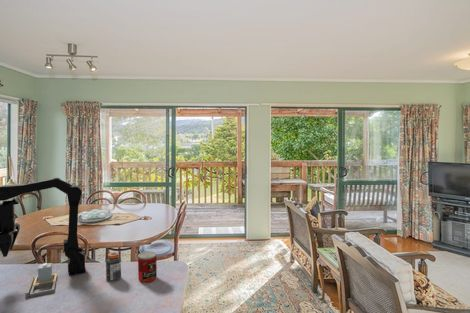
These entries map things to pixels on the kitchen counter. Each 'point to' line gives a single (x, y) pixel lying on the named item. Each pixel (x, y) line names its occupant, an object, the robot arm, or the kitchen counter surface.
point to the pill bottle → (113, 267)
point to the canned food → (147, 267)
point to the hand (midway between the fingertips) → (7, 252)
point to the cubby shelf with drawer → (33, 286)
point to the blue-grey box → (45, 272)
